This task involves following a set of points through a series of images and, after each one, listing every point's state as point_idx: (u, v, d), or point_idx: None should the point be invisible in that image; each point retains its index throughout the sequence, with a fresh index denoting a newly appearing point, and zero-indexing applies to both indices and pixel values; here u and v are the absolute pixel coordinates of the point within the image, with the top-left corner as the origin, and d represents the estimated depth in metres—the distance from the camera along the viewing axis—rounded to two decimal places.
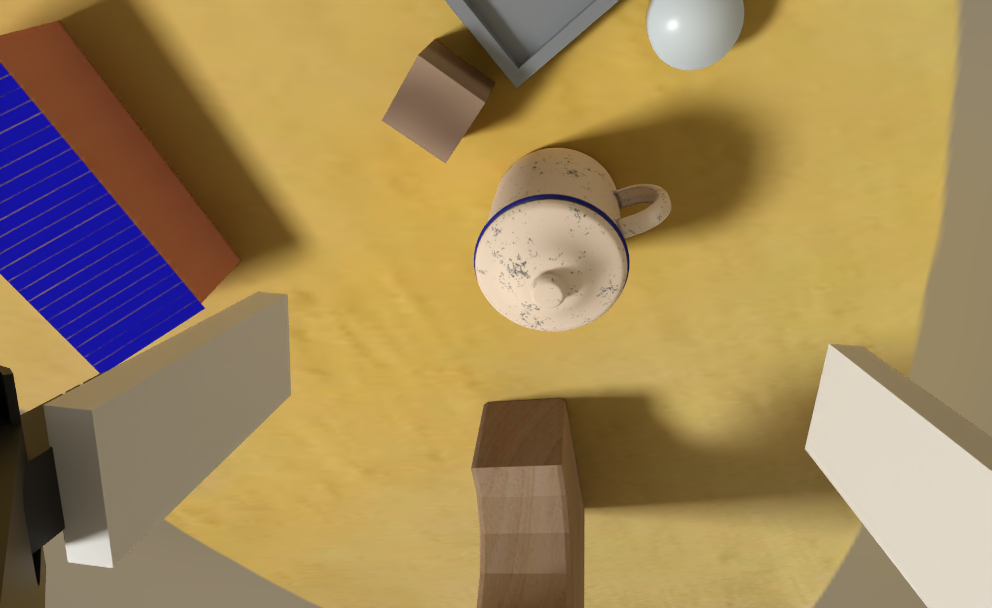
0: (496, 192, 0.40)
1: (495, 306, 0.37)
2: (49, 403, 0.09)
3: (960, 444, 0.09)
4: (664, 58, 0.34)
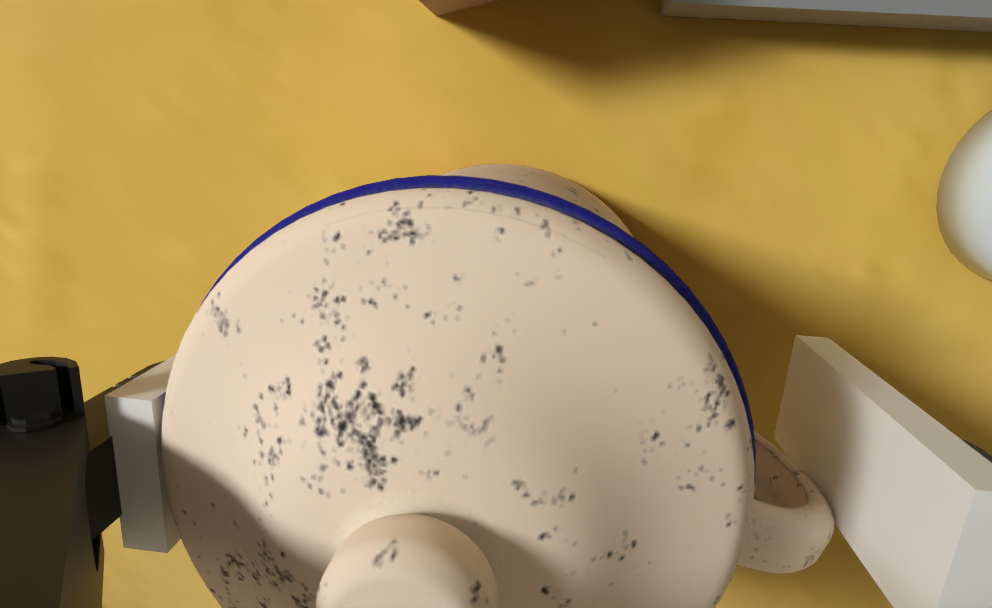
0: None
1: (168, 463, 0.09)
2: (110, 394, 0.09)
3: (905, 426, 0.10)
4: None
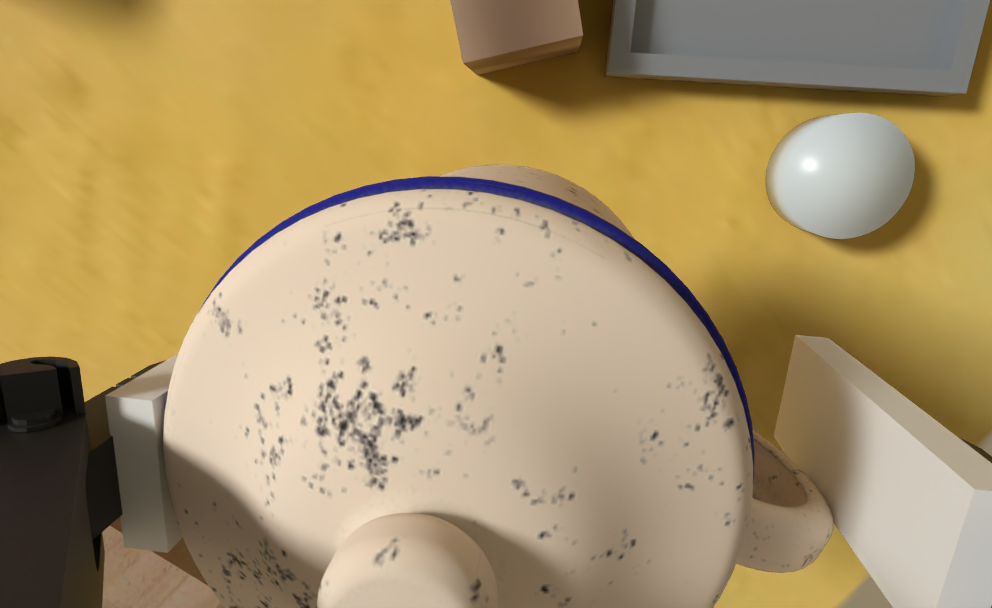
0: None
1: (169, 463, 0.09)
2: (110, 394, 0.09)
3: (904, 426, 0.10)
4: (788, 186, 0.25)
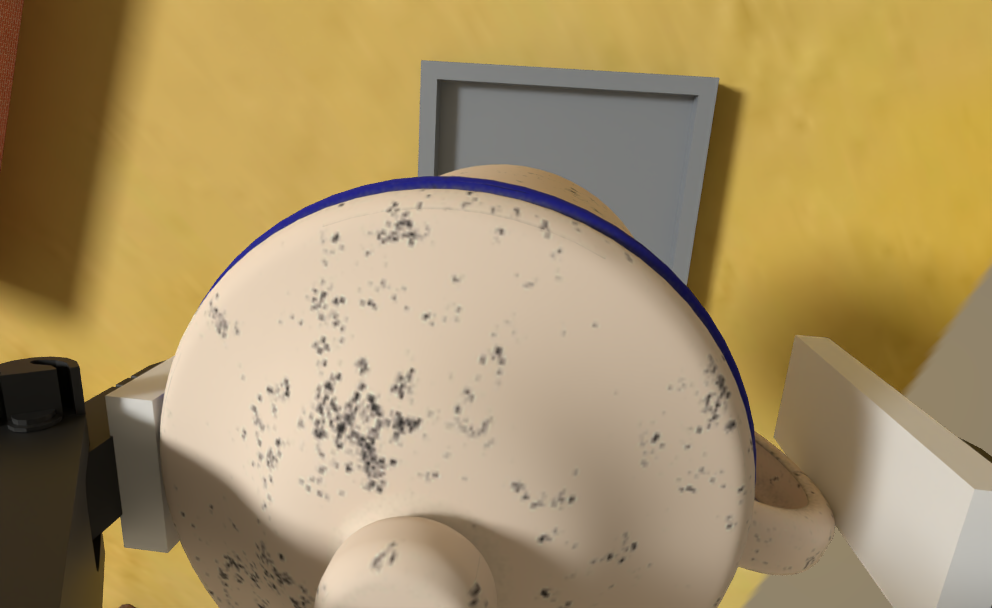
0: None
1: (166, 465, 0.09)
2: (110, 394, 0.09)
3: (904, 426, 0.10)
4: None
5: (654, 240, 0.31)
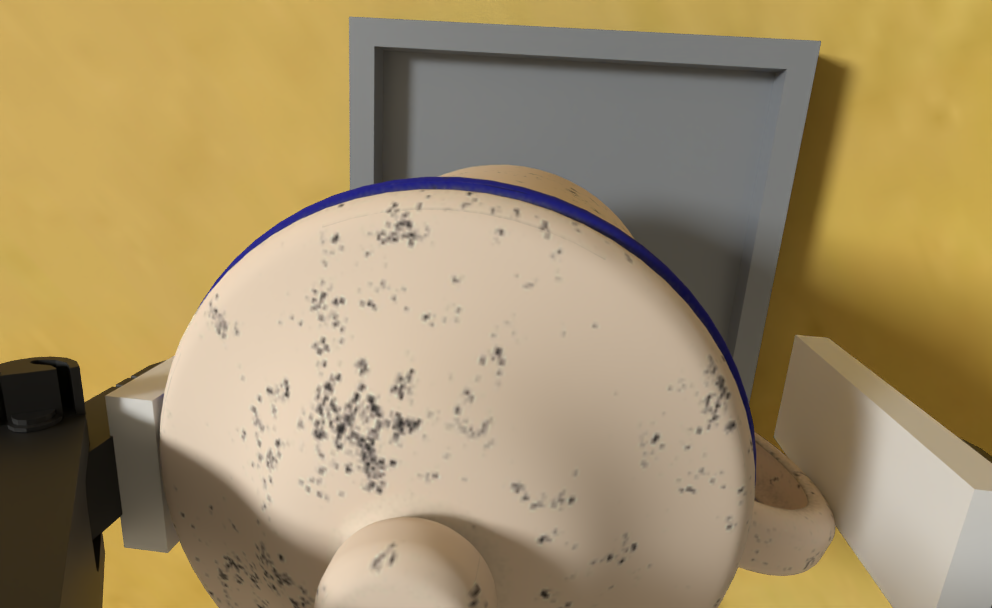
0: None
1: (166, 466, 0.09)
2: (110, 394, 0.09)
3: (904, 426, 0.10)
4: None
5: (708, 292, 0.21)
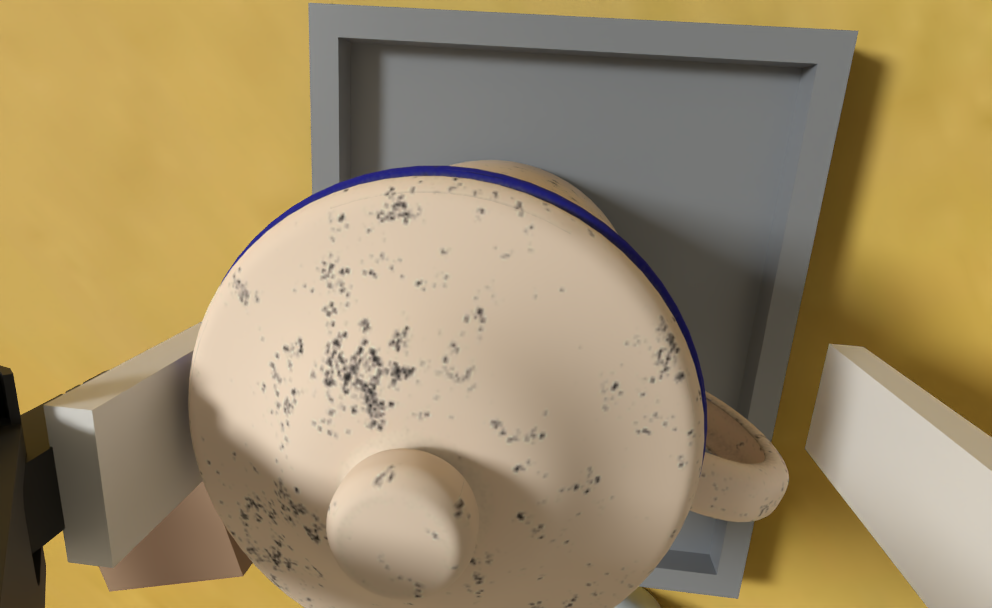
0: None
1: (194, 419, 0.10)
2: (49, 403, 0.09)
3: (960, 444, 0.09)
4: None
5: (722, 318, 0.18)
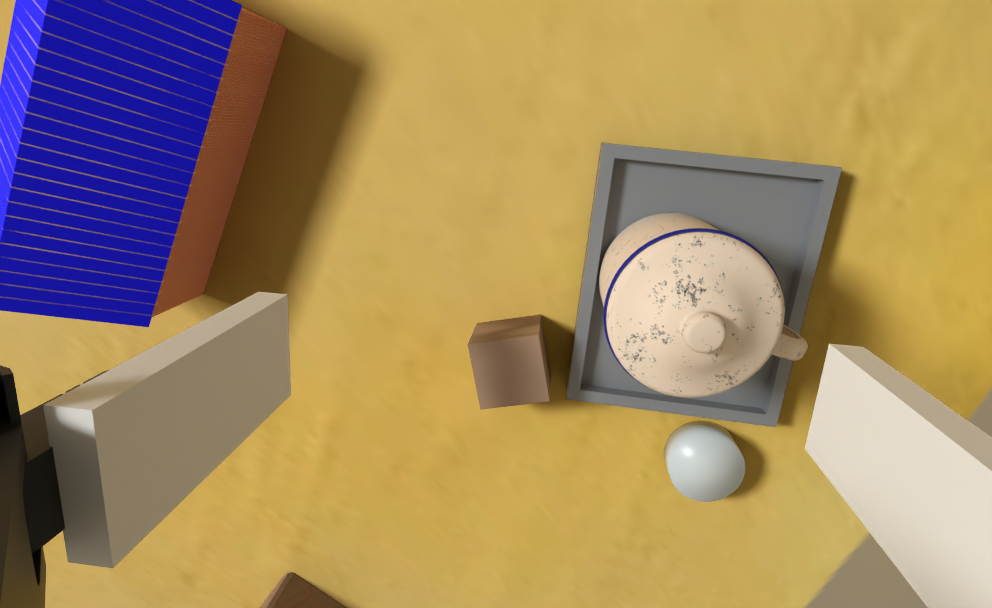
0: (649, 220, 0.37)
1: (614, 308, 0.31)
2: (49, 403, 0.09)
3: (960, 444, 0.09)
4: (671, 471, 0.41)
5: None
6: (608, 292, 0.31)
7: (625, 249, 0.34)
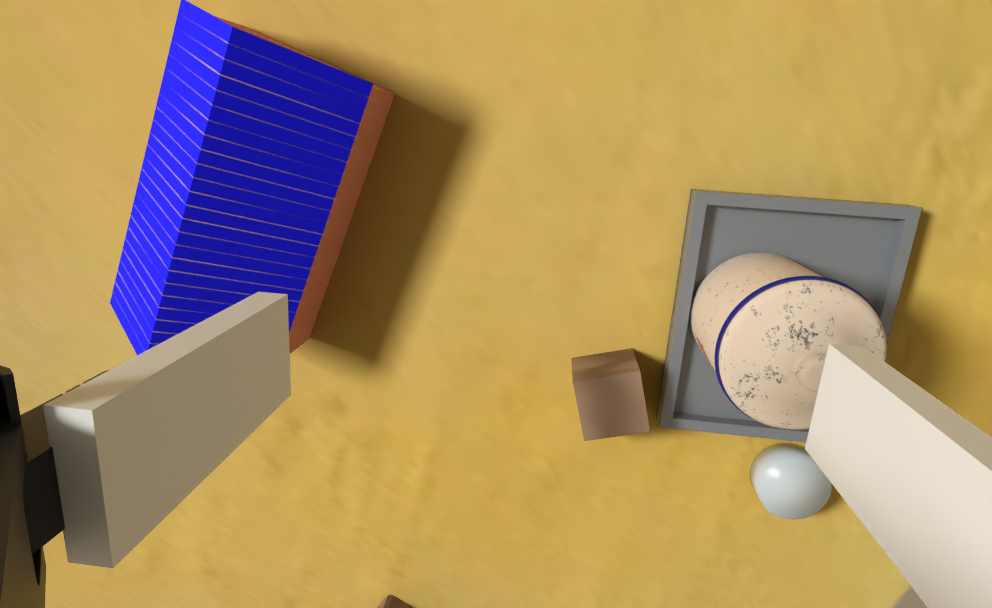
0: (741, 261, 0.39)
1: (728, 350, 0.34)
2: (49, 403, 0.09)
3: (960, 444, 0.09)
4: (760, 491, 0.44)
5: None
6: (720, 335, 0.34)
7: (727, 292, 0.37)
